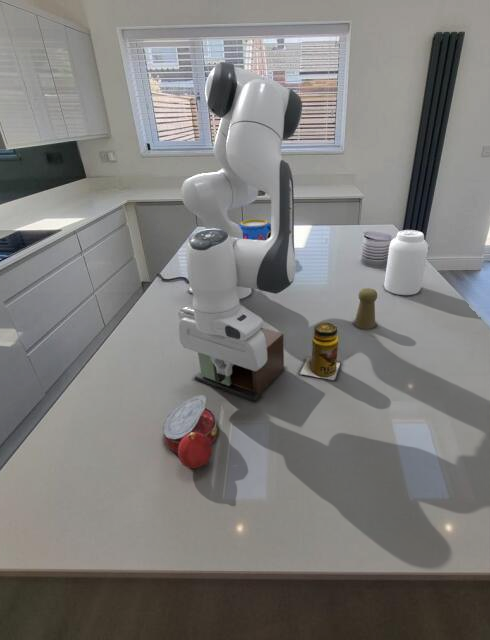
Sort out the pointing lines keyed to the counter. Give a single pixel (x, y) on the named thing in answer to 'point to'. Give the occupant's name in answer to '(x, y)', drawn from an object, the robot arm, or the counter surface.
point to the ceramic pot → (256, 229)
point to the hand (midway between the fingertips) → (224, 373)
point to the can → (375, 248)
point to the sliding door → (212, 370)
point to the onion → (195, 450)
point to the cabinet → (255, 381)
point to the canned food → (189, 422)
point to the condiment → (323, 353)
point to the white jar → (406, 263)
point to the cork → (366, 309)
